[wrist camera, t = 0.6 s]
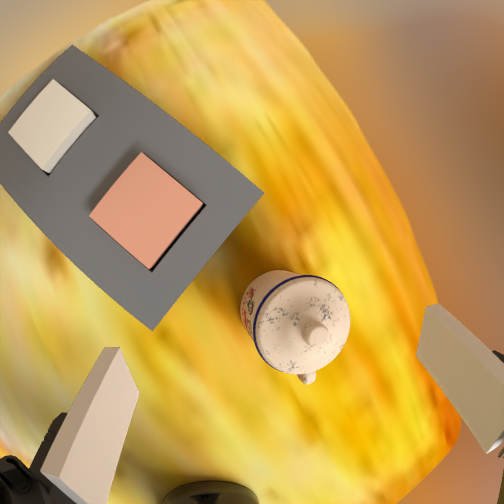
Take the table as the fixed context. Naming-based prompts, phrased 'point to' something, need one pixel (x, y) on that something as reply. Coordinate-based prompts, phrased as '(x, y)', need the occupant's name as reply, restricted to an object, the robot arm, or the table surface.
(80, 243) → the key box
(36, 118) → the ivory key
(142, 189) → the terracotta key
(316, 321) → the teacup with lid
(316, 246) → the table surface
